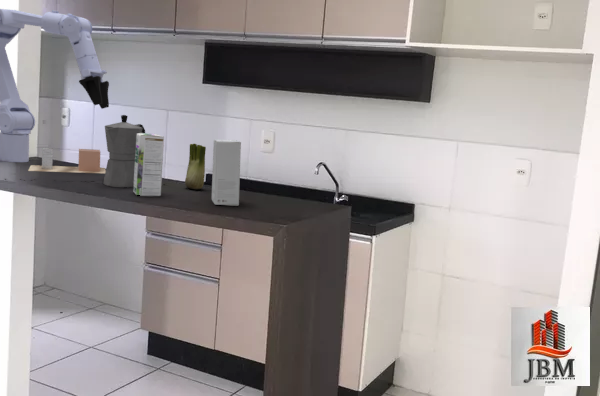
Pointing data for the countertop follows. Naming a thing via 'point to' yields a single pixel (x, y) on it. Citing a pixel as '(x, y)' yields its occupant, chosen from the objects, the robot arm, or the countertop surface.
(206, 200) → the countertop surface
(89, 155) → the salmon orange cube
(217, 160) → the skincare box
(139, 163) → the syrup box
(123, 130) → the coffeepot
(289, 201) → the countertop surface
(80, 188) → the countertop surface
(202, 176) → the fennel bulb
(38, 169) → the maple board
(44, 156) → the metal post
